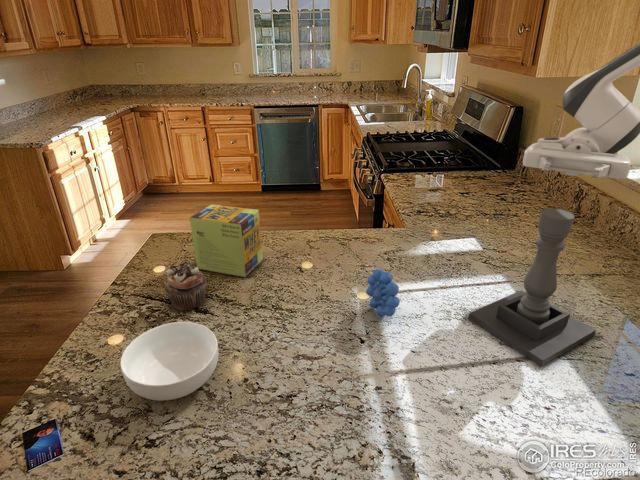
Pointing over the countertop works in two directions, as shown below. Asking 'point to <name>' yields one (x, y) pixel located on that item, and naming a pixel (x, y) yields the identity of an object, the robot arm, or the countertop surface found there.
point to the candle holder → (545, 265)
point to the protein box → (227, 239)
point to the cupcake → (185, 287)
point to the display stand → (532, 329)
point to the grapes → (383, 293)
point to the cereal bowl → (170, 360)
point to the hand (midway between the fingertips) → (571, 170)
